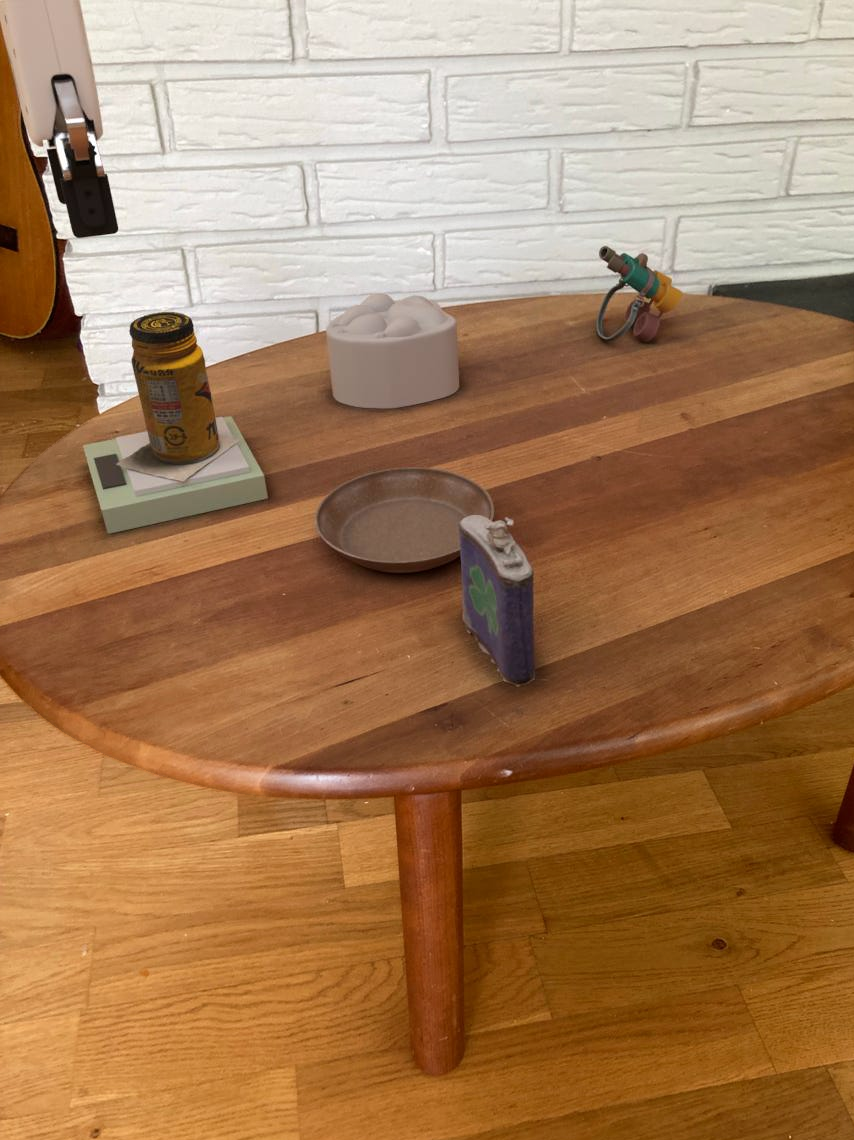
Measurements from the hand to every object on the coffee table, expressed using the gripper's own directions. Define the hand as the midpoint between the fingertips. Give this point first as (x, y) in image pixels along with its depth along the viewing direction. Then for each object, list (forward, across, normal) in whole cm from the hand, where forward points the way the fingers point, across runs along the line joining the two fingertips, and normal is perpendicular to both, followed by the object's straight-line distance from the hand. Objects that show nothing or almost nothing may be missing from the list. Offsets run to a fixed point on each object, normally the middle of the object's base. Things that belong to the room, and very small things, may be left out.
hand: (88, 217), depth 82 cm
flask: (+24, +33, +20) cm, 46 cm away
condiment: (+22, -1, +3) cm, 22 cm away
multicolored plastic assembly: (+24, -14, +58) cm, 64 cm away
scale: (+24, -2, +3) cm, 24 cm away
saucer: (+24, +16, +19) cm, 35 cm away
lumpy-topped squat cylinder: (+24, -13, +28) cm, 39 cm away
